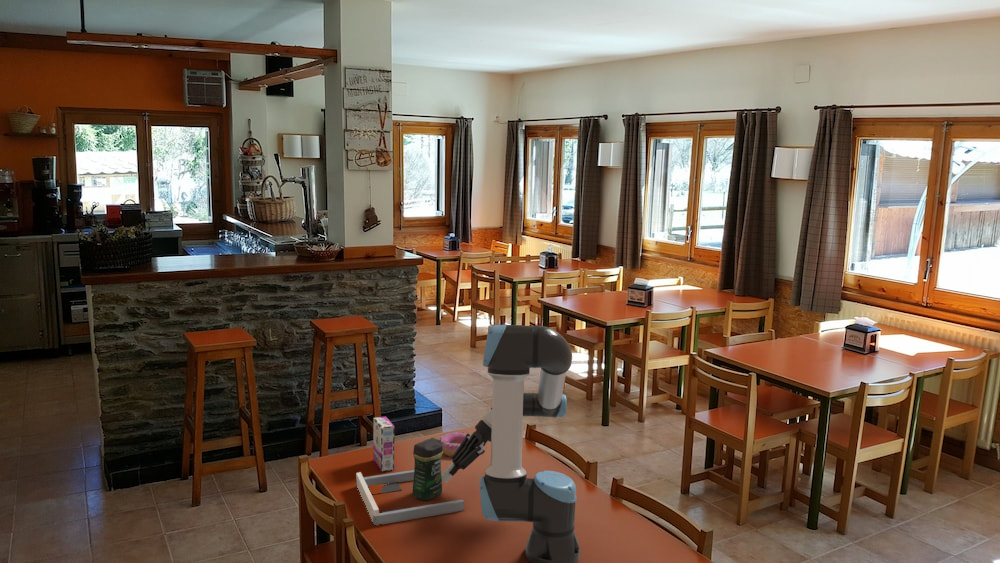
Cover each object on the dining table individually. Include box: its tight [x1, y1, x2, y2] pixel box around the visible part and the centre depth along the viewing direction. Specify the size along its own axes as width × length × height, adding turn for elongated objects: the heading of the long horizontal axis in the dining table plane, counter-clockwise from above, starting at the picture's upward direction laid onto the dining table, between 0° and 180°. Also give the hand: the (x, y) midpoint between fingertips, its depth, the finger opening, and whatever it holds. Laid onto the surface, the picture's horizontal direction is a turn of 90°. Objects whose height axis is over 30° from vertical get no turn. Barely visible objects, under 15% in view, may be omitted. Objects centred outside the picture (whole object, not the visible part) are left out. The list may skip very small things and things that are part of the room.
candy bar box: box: [372, 415, 396, 472], centre depth 257 cm, size 11×5×16 cm, turn 25°
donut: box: [439, 431, 468, 457], centre depth 273 cm, size 14×14×5 cm
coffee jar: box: [412, 437, 443, 501], centre depth 236 cm, size 10×8×19 cm
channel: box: [355, 469, 465, 526], centre depth 234 cm, size 27×28×5 cm
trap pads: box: [380, 482, 413, 513], centre depth 232 cm, size 24×10×1 cm, turn 22°
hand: (442, 480), depth 240 cm, fingers closed
